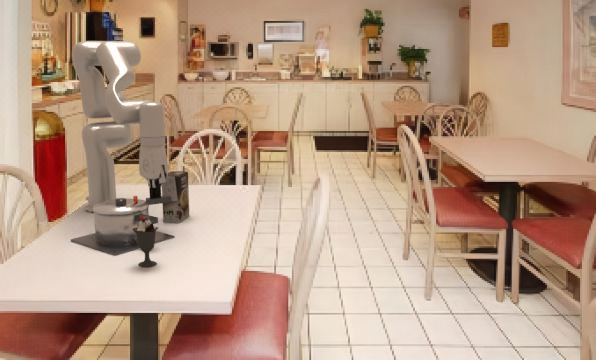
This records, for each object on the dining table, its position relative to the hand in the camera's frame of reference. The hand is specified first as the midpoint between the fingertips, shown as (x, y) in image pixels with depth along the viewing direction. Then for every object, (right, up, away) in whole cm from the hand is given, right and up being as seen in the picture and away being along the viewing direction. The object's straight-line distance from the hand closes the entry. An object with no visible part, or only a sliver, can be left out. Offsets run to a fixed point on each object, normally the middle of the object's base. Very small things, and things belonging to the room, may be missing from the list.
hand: (155, 199), depth 197 cm
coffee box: (+3, -8, +17) cm, 19 cm away
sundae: (+4, -17, -28) cm, 33 cm away
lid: (-5, -2, -6) cm, 9 cm away
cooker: (-7, -13, -8) cm, 16 cm away
